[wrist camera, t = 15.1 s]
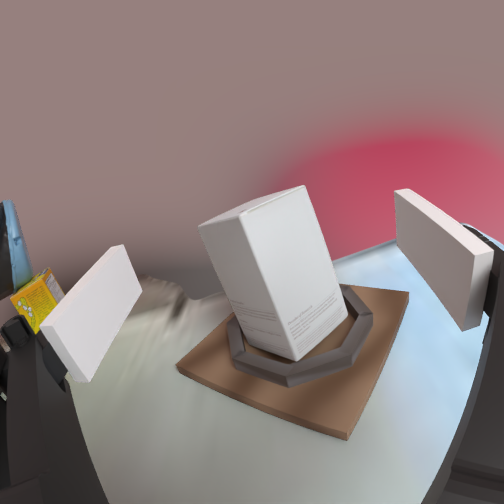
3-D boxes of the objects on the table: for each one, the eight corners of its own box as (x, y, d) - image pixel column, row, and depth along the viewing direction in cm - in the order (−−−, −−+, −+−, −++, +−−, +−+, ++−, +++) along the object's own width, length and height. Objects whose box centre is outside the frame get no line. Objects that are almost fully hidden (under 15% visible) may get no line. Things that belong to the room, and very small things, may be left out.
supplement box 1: (57, 346, 39) (19, 285, 35) (87, 329, 41) (49, 266, 37) (53, 365, 34) (8, 298, 30) (86, 347, 36) (41, 277, 32)
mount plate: (179, 372, 30) (169, 353, 29) (274, 282, 42) (270, 265, 41) (347, 440, 19) (346, 422, 18) (408, 300, 31) (409, 280, 30)
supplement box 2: (351, 315, 27) (308, 182, 25) (296, 364, 24) (236, 214, 21) (298, 307, 34) (256, 196, 31) (246, 345, 30) (193, 225, 27)
